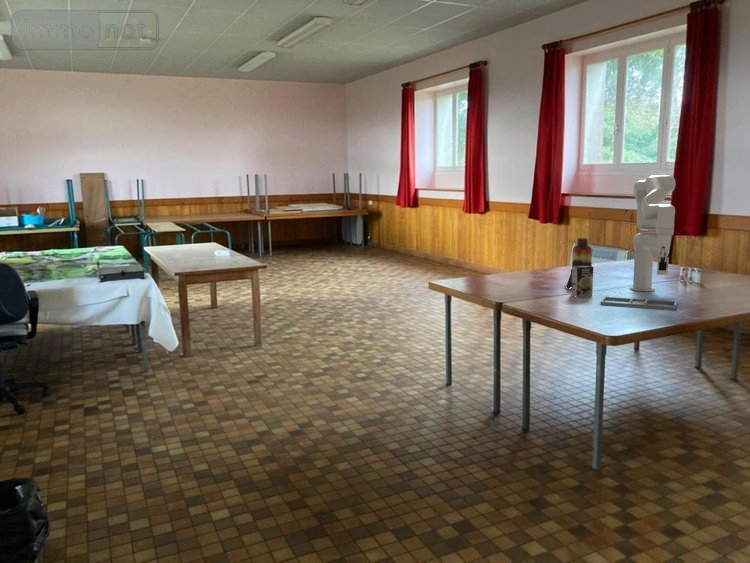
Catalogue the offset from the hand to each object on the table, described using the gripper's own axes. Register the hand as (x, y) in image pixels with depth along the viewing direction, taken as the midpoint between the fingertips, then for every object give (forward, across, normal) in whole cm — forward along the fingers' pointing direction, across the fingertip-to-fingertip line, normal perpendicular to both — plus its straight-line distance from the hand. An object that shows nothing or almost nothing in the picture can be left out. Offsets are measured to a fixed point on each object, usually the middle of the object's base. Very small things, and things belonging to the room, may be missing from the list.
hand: (662, 269), depth 294 cm
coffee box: (+18, -12, -39) cm, 45 cm away
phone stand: (+18, -32, -46) cm, 59 cm away
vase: (+18, -56, -47) cm, 76 cm away
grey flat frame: (+18, 0, -10) cm, 21 cm away
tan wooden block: (+2, 0, 0) cm, 2 cm away
